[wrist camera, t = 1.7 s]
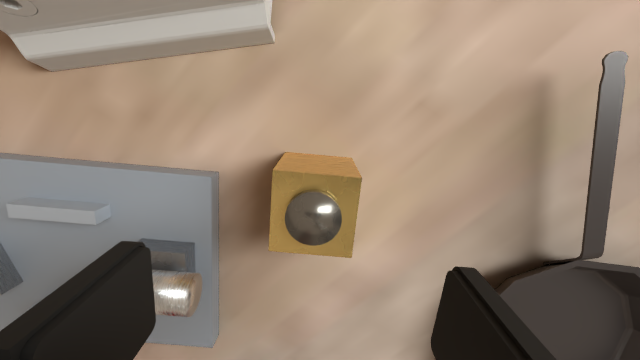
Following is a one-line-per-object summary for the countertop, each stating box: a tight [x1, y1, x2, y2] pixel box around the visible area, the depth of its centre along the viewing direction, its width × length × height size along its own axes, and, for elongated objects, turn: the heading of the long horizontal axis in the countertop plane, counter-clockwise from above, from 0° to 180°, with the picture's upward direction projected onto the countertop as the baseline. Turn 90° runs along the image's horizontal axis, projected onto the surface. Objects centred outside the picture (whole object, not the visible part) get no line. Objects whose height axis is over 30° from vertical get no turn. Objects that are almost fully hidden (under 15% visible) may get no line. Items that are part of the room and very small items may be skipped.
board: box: [0, 153, 219, 348], centre depth 23 cm, size 21×15×3 cm
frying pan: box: [495, 51, 640, 360], centre depth 23 cm, size 18×32×4 cm, turn 8°
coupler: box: [269, 152, 362, 258], centre depth 20 cm, size 5×5×7 cm
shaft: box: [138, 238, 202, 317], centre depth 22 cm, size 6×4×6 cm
